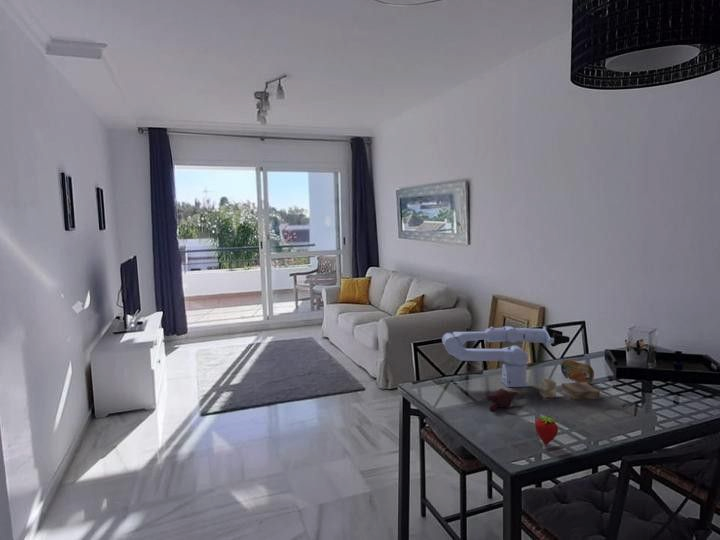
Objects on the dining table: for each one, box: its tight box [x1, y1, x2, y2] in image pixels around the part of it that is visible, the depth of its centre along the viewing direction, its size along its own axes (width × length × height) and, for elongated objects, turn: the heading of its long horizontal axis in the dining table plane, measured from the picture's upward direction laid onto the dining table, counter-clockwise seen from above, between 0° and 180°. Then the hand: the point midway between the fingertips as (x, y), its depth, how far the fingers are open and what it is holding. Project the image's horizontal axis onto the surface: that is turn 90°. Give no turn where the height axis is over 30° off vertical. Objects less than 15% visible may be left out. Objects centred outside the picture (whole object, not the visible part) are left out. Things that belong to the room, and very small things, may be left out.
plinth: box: [561, 382, 601, 400], centre depth 184 cm, size 10×10×3 cm
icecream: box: [486, 387, 519, 411], centre depth 173 cm, size 7×7×15 cm
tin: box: [560, 359, 595, 384], centre depth 200 cm, size 15×3×8 cm, turn 25°
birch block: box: [539, 378, 557, 399], centre depth 183 cm, size 4×4×6 cm
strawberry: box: [534, 413, 559, 445], centre depth 144 cm, size 6×8×10 cm
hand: (565, 336), depth 194 cm, fingers open, 7 cm apart
